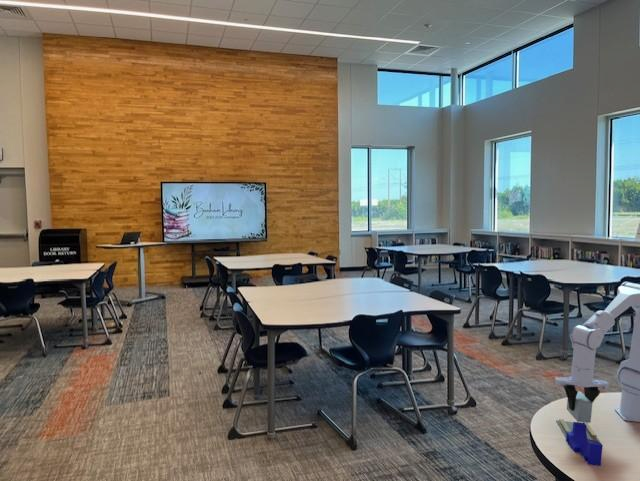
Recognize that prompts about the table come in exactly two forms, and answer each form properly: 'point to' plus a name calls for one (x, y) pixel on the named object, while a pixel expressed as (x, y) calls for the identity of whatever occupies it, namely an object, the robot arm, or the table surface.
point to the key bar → (581, 408)
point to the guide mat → (570, 426)
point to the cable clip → (584, 444)
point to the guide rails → (570, 431)
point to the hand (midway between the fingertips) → (578, 409)
